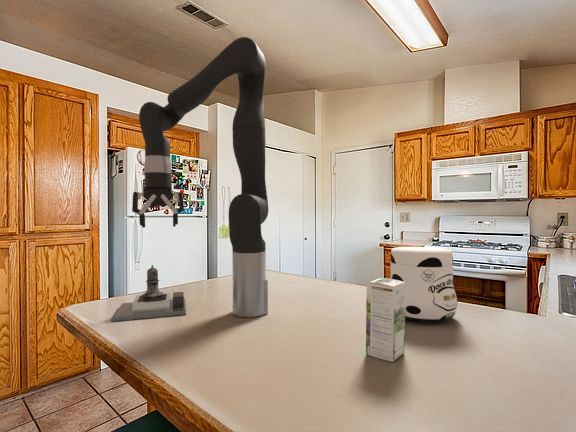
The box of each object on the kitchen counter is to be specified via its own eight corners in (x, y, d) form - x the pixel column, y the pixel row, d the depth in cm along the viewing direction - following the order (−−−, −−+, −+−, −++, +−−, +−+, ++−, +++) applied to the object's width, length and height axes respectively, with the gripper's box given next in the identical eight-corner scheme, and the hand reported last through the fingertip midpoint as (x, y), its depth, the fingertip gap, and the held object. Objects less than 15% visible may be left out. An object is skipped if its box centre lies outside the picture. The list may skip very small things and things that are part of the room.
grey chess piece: (156, 310, 94) (155, 266, 94) (137, 308, 95) (136, 266, 95) (168, 304, 100) (167, 263, 99) (150, 303, 101) (149, 263, 101)
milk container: (462, 330, 80) (462, 254, 80) (385, 323, 85) (385, 252, 85) (452, 310, 96) (452, 247, 96) (388, 305, 102) (388, 245, 102)
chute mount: (185, 302, 107) (185, 288, 107) (185, 314, 93) (185, 299, 93) (122, 307, 101) (122, 293, 101) (113, 321, 88) (113, 305, 88)
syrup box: (377, 346, 71) (377, 277, 71) (405, 353, 67) (405, 280, 67) (365, 355, 66) (365, 281, 66) (394, 363, 62) (394, 285, 62)
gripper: (182, 174, 107) (183, 226, 107) (133, 173, 102) (134, 227, 102) (183, 171, 99) (184, 226, 100) (130, 170, 95) (131, 228, 95)
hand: (159, 227), depth 101 cm, fingers open, 8 cm apart
